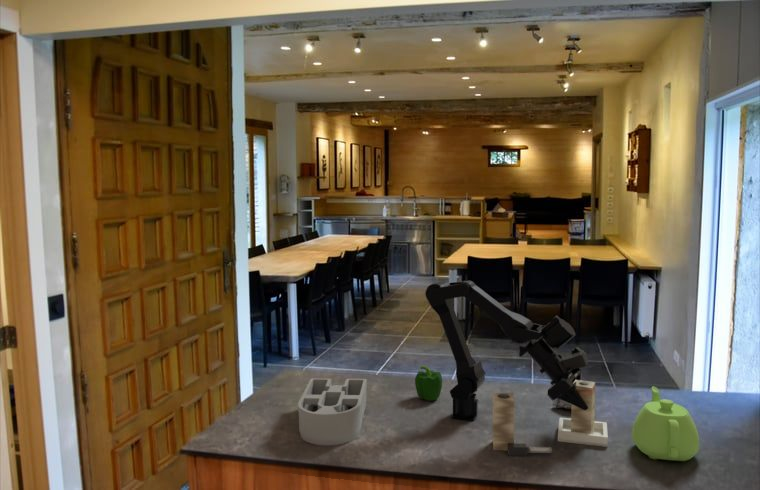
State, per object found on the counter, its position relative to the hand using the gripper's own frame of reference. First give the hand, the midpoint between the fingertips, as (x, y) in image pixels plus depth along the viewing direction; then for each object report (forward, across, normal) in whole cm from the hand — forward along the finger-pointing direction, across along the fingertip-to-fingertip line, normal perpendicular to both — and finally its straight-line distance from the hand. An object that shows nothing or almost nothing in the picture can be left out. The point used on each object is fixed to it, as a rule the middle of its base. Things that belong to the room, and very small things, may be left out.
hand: (588, 405), depth 163 cm
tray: (+5, 0, +7) cm, 8 cm away
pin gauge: (-2, -17, +14) cm, 22 cm away
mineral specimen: (+1, +19, +11) cm, 22 cm away
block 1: (-7, -15, +19) cm, 25 cm away
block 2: (+4, 0, +6) cm, 7 cm away
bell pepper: (-28, +9, +40) cm, 50 cm away
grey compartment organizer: (-39, -22, +52) cm, 68 cm away
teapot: (+19, 0, -7) cm, 20 cm away
